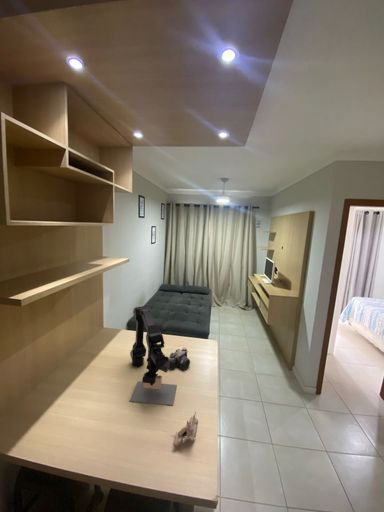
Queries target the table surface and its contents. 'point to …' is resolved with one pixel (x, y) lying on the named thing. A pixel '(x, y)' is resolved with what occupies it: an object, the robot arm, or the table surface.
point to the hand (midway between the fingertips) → (152, 383)
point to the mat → (154, 394)
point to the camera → (179, 359)
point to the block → (156, 385)
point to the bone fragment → (186, 431)
